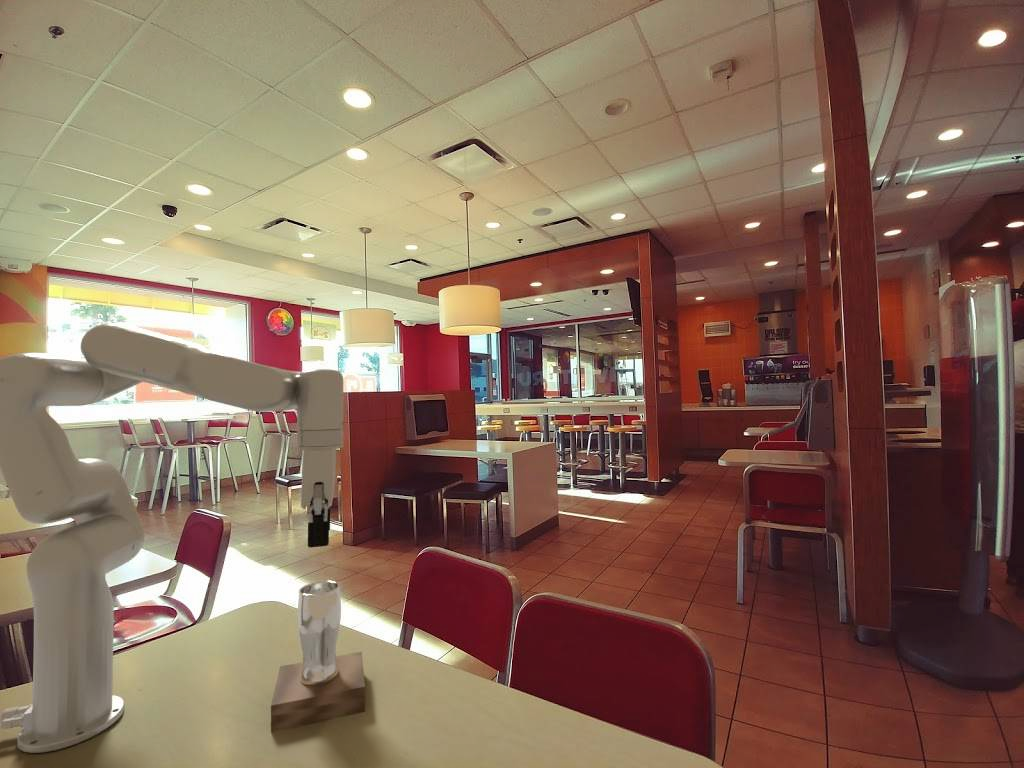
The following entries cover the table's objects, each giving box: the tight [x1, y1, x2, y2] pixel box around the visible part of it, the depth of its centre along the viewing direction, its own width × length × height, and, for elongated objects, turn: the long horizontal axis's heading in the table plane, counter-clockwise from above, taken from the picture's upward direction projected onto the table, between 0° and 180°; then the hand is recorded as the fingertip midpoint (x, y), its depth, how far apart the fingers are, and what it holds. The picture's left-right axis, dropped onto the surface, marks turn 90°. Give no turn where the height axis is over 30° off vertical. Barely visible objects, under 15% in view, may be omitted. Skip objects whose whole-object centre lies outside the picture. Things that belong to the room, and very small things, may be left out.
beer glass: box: [297, 580, 342, 686], centre depth 83 cm, size 7×7×15 cm
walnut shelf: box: [270, 651, 366, 733], centre depth 83 cm, size 14×12×4 cm
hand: (319, 538), depth 84 cm, fingers open, 9 cm apart
